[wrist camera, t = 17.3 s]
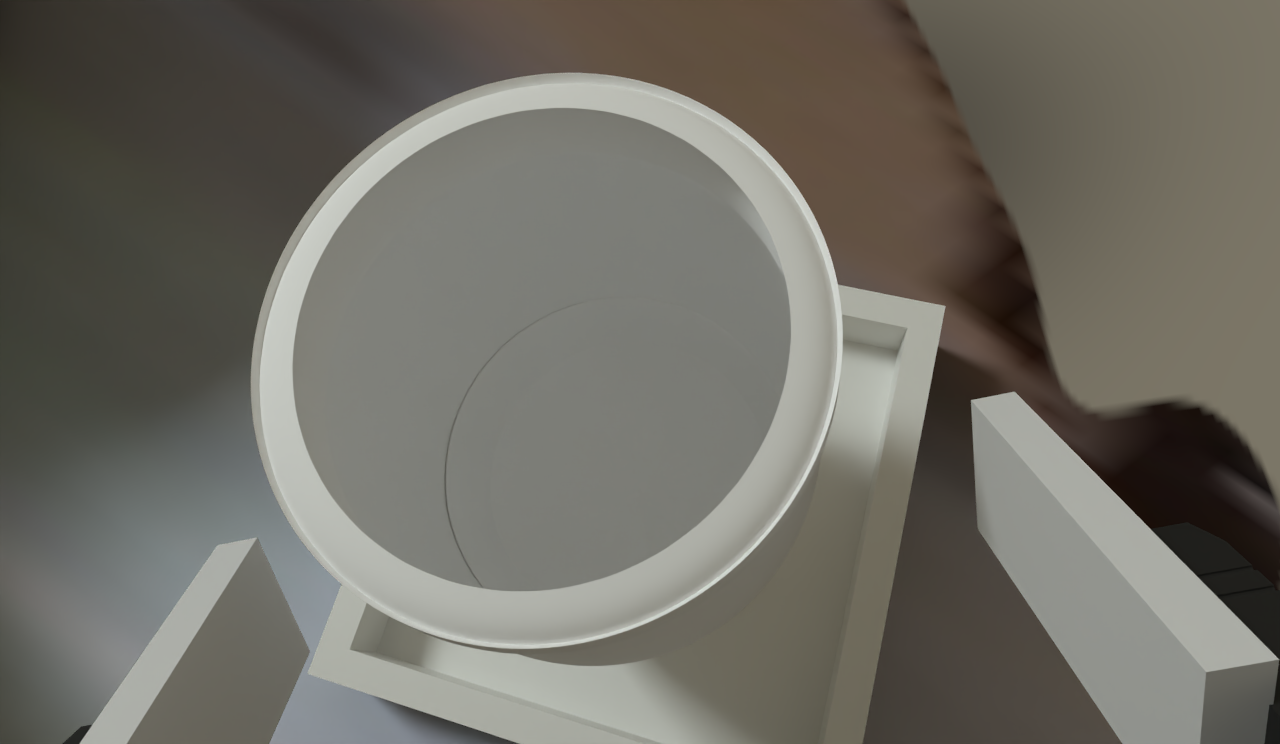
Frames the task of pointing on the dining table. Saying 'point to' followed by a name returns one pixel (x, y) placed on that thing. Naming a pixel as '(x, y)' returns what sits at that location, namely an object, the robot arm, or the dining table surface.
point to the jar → (552, 370)
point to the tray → (749, 642)
